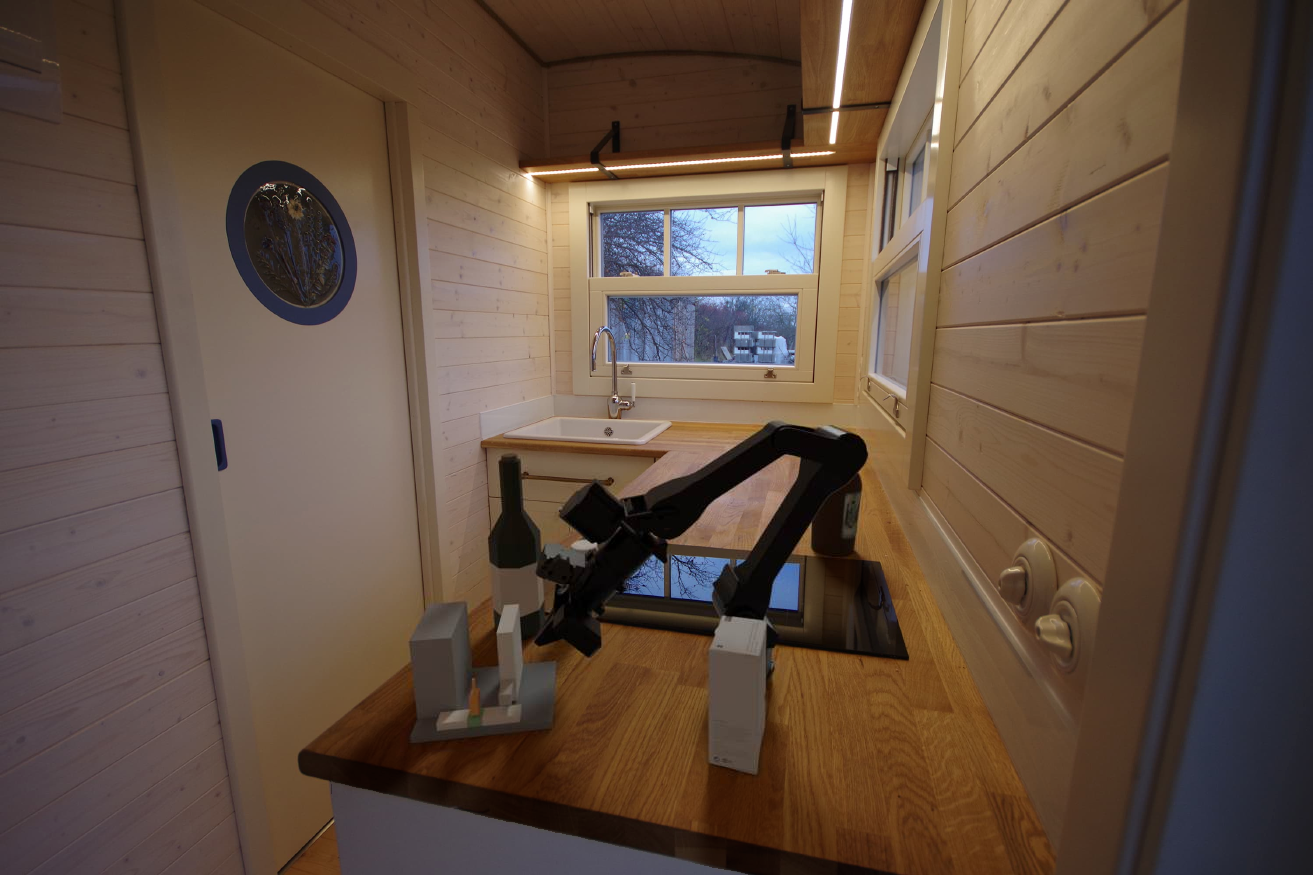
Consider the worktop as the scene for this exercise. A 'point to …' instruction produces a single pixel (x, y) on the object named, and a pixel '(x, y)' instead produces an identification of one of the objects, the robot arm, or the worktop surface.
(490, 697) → the base
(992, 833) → the worktop surface
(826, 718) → the worktop surface
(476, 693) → the orange block with rod
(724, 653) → the skincare box
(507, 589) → the wine bottle
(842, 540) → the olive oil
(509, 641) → the white tall block
